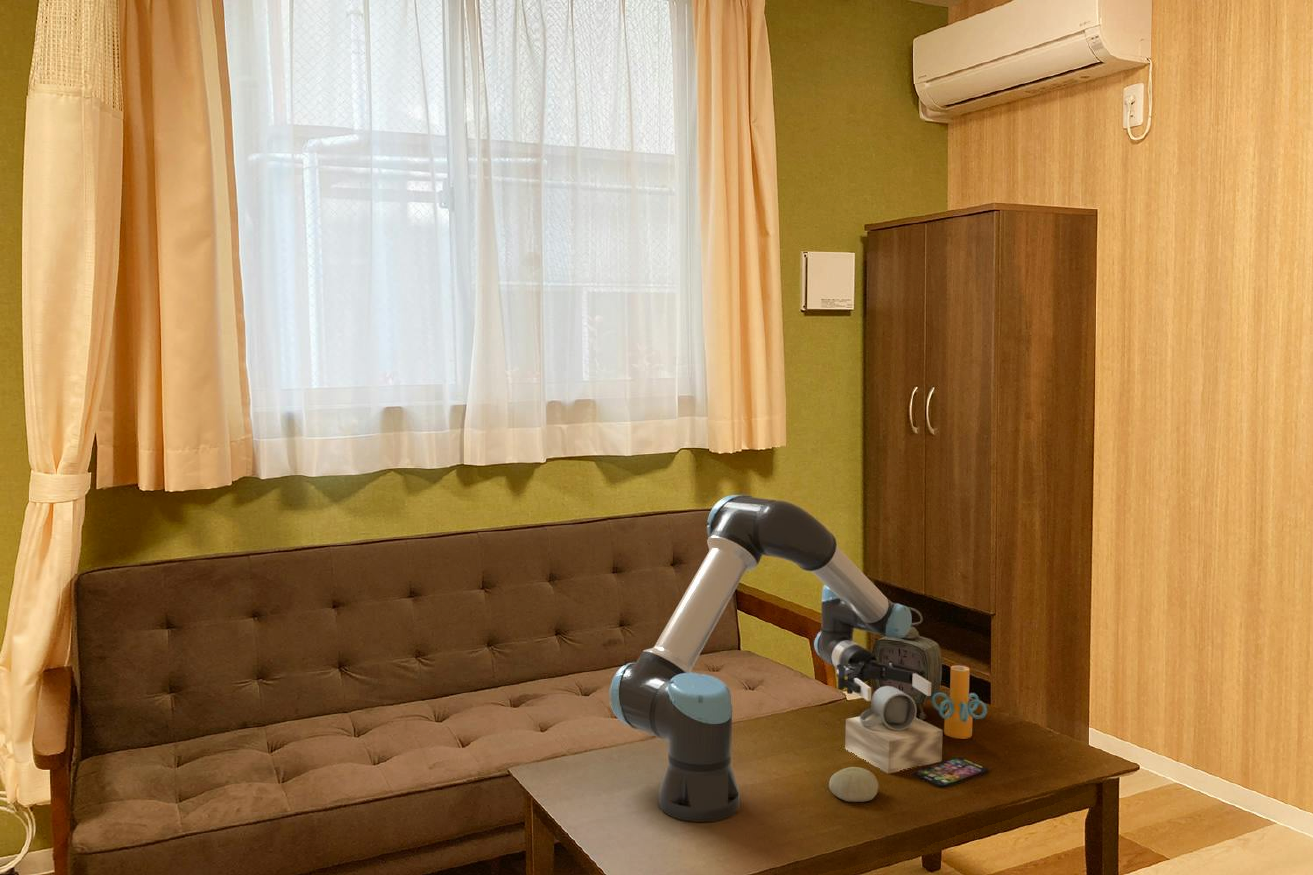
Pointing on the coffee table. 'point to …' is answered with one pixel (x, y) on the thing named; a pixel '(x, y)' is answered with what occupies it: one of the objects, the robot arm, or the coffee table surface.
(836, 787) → the sea urchin shell
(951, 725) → the ring toss post
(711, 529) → the robot arm
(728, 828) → the coffee table surface
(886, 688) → the ceramic mug
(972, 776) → the smartphone
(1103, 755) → the coffee table surface
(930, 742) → the birch block
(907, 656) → the tabletop clock
